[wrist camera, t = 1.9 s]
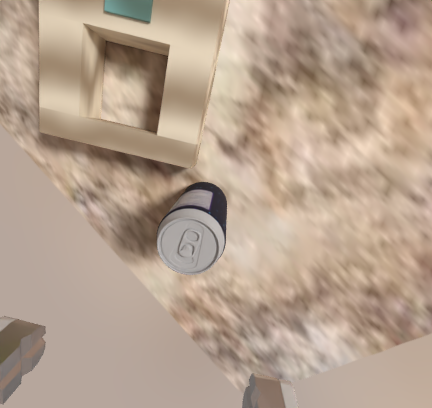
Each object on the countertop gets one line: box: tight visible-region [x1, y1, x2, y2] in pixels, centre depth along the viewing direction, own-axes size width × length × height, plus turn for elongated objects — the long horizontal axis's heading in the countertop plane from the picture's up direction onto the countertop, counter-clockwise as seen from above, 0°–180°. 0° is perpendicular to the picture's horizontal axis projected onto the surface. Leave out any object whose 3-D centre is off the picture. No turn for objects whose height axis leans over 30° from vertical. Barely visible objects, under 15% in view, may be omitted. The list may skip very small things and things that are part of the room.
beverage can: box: [157, 182, 227, 275], centre depth 23 cm, size 6×6×12 cm
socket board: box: [39, 0, 230, 169], centre depth 23 cm, size 17×16×4 cm
